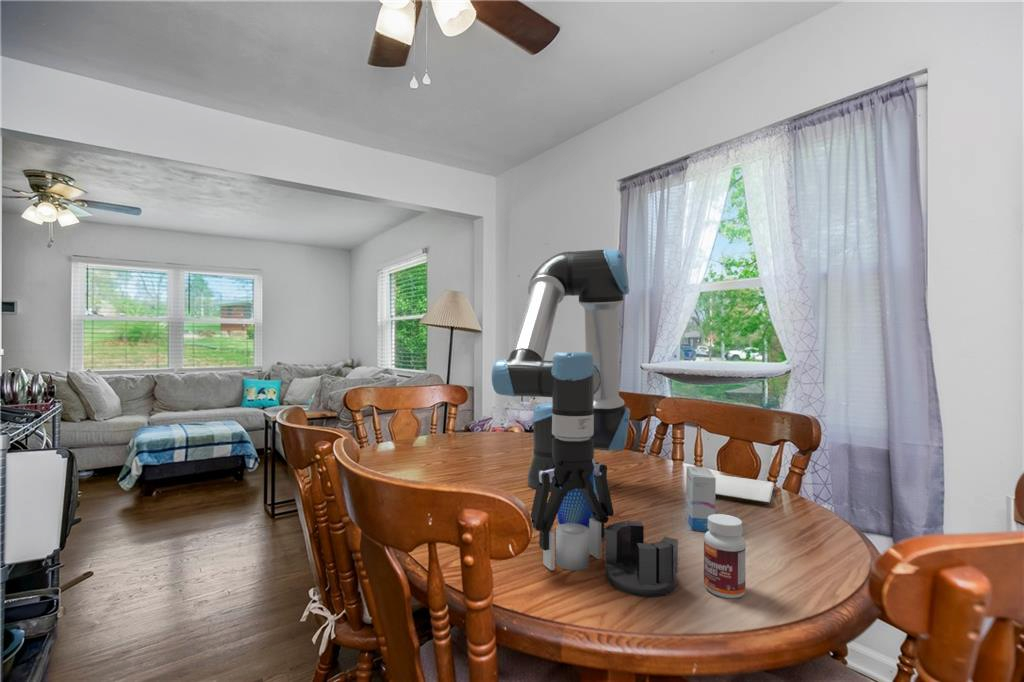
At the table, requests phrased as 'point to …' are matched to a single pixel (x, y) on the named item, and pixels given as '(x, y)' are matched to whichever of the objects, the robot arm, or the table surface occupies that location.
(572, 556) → the cap
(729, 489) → the plate
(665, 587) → the dark faceted crown
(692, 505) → the ink box
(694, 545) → the table surface
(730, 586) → the pill bottle
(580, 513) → the beer can
